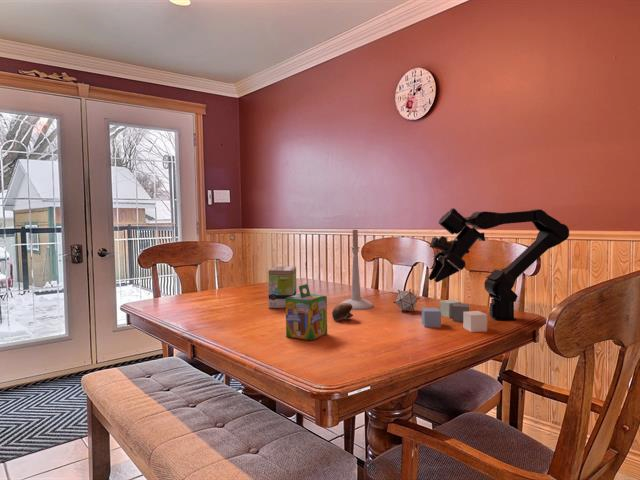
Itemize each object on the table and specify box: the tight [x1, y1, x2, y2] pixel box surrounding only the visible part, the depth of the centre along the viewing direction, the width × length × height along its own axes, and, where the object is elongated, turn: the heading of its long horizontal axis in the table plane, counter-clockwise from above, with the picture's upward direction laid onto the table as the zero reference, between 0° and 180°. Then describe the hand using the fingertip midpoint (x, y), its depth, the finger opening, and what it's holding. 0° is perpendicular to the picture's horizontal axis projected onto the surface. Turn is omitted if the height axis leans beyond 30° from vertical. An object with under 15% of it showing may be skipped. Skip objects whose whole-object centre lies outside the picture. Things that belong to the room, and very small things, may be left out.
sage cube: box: [439, 299, 462, 319], centre depth 145 cm, size 5×5×5 cm
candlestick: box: [339, 229, 374, 311], centre depth 162 cm, size 13×13×30 cm
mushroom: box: [331, 302, 354, 321], centre depth 141 cm, size 8×8×6 cm
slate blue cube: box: [421, 307, 442, 328], centre depth 132 cm, size 5×5×5 cm
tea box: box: [268, 265, 297, 309], centre depth 169 cm, size 15×10×15 cm
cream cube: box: [462, 310, 488, 333], centre depth 127 cm, size 5×5×5 cm
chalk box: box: [285, 283, 328, 341], centre depth 123 cm, size 9×9×15 cm
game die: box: [392, 288, 421, 313], centre depth 153 cm, size 9×8×10 cm
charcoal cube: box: [452, 302, 470, 323], centre depth 139 cm, size 5×5×5 cm
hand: (432, 280), depth 138 cm, fingers open, 9 cm apart
